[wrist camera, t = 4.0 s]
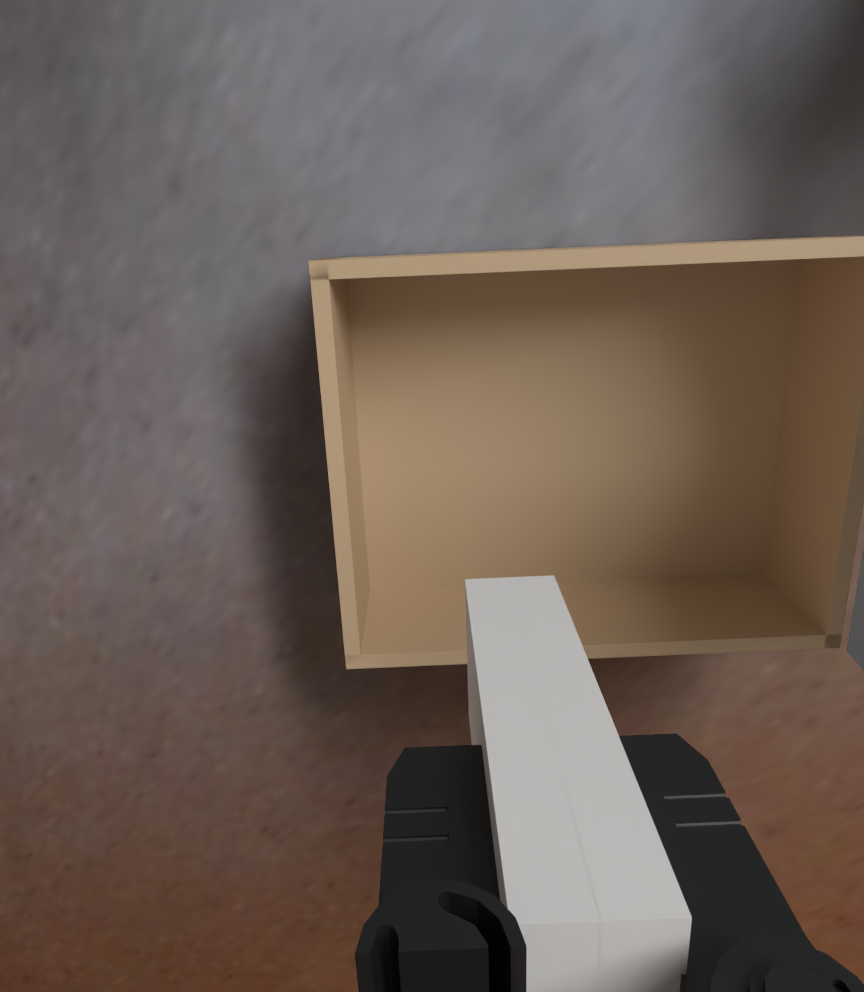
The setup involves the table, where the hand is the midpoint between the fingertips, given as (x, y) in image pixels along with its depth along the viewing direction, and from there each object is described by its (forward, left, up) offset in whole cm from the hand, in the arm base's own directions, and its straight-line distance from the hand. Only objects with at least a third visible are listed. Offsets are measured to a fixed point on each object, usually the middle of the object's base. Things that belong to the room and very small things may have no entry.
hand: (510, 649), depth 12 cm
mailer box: (+3, +2, -15) cm, 15 cm away
